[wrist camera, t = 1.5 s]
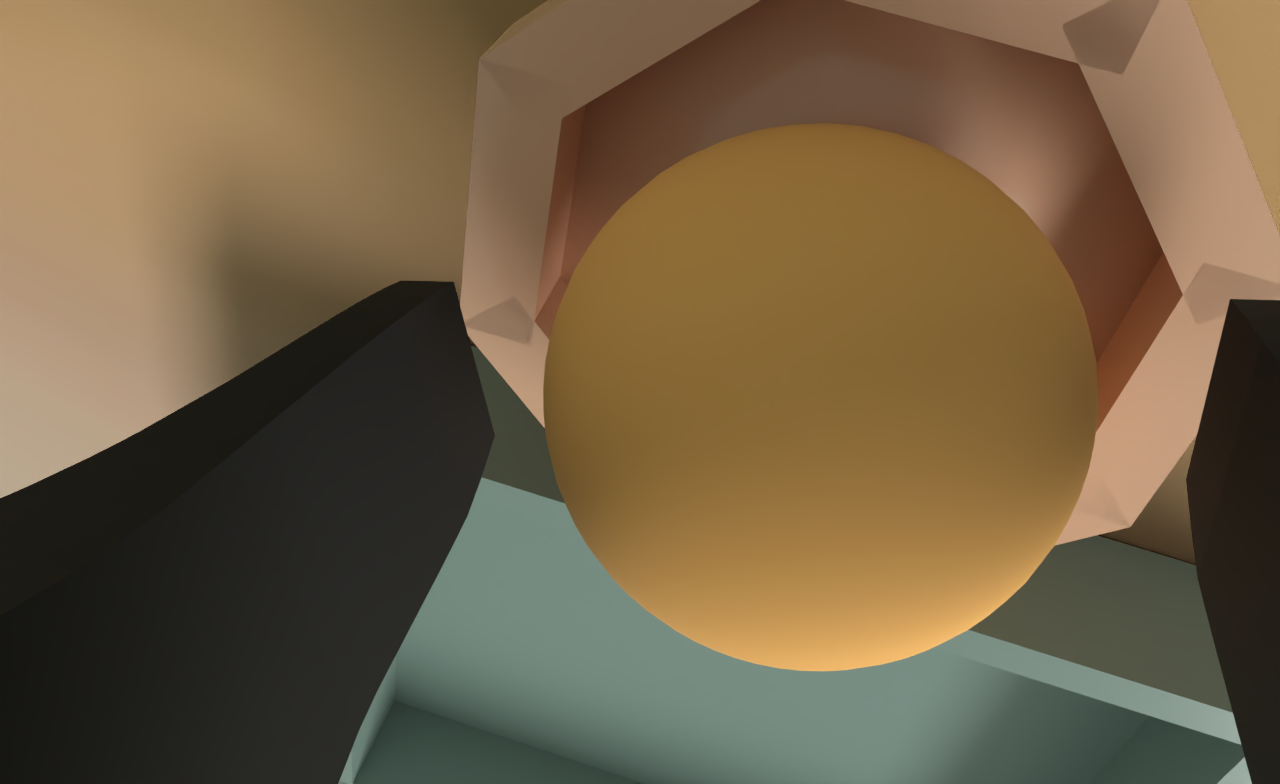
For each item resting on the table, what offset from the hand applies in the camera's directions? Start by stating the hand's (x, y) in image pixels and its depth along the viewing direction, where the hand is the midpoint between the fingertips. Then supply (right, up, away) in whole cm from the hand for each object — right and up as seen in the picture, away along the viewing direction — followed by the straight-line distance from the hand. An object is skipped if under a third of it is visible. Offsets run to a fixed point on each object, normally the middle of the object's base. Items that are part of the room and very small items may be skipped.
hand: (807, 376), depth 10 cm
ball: (+1, +1, +2) cm, 2 cm away
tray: (0, -5, +11) cm, 12 cm away
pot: (+1, +3, +4) cm, 5 cm away
